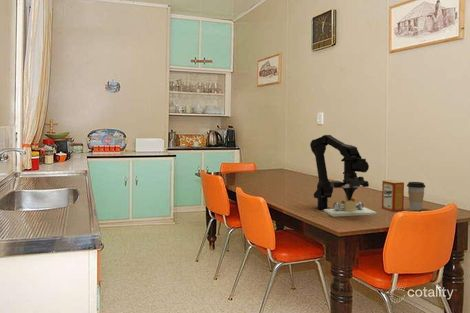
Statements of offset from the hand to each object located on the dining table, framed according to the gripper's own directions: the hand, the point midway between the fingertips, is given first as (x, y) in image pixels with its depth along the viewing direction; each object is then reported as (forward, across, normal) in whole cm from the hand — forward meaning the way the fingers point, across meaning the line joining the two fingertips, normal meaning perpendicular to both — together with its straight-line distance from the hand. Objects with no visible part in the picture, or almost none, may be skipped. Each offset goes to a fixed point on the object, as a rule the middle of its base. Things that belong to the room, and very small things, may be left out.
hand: (349, 200), depth 211 cm
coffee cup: (+8, +42, +7) cm, 43 cm away
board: (+8, +3, +6) cm, 10 cm away
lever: (+1, +3, +4) cm, 5 cm away
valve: (+7, +3, +8) cm, 11 cm away
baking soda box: (+8, +30, +10) cm, 33 cm away
